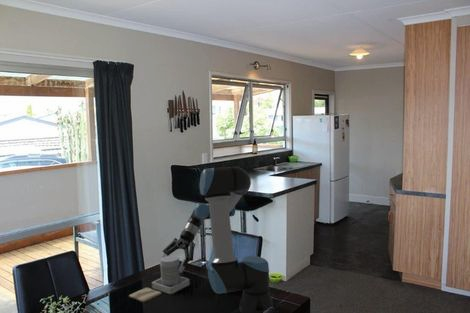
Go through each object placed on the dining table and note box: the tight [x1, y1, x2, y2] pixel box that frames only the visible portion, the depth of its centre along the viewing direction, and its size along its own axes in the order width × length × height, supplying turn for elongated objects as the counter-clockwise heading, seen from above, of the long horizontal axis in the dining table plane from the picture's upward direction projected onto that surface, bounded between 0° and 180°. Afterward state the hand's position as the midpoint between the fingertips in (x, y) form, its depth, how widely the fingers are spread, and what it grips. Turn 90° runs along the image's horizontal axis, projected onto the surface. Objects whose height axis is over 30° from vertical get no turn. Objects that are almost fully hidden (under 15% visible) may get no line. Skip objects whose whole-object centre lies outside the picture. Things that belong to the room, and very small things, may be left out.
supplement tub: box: [159, 255, 181, 288], centre depth 204 cm, size 10×10×15 cm
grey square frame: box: [151, 275, 191, 295], centre depth 205 cm, size 14×14×3 cm
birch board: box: [128, 287, 162, 303], centre depth 195 cm, size 11×11×1 cm
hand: (170, 269), depth 205 cm, fingers open, 13 cm apart
